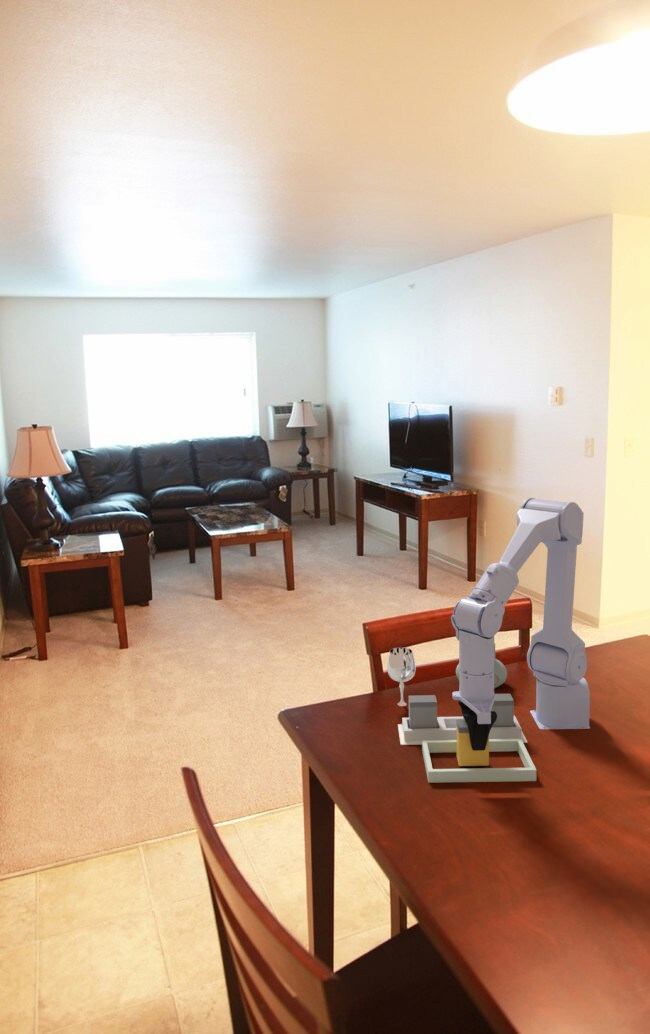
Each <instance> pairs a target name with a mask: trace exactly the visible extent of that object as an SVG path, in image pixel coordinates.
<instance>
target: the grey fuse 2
mask: <svg viewBox="0 0 650 1034" xmlns="http://www.w3.org/2000/svg"><path fill="white" fill-rule="evenodd" d="M514 703H515V700H514V698H513V697H512V695H511V693H495V701H494V704H493V706H492V709H491V711H496V714H497V719H496V721H495V722H494V724H493V726H492V727H513V726H514V716H515V714H514V713H515V712H514V711H515V710H514V709H515V708H514V706H515V704H514Z"/></svg>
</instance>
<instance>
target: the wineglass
mask: <svg viewBox="0 0 650 1034" xmlns="http://www.w3.org/2000/svg"><path fill="white" fill-rule="evenodd" d="M416 666H417V665H416V660H415V655H414V650H412V649H411V648H408V647H401V646H399V647H394V648H391V649H390V650H389V652H388V657H387V663H386V667H387V670H386V671H387V674H388V676H389V678H390V679H391V680H393V681H396V682H398V683H399V686H398V687H399V690H400V691H399V692H400V701H399V702H397V706H399V707H406V706H407V703H406V702H405V700H404V691H405V690H404V689H405V683H406V682H408V681H410V680H412V679H413V678H414V677H415V674H416V670H417V669H416Z"/></svg>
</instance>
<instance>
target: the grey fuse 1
mask: <svg viewBox="0 0 650 1034" xmlns="http://www.w3.org/2000/svg"><path fill="white" fill-rule="evenodd" d="M437 717H438V701H437V697H436V694H430V695H429V694H427V695H424V694H423V695H418V694H417V695H408V718H409V729H427V728H437Z"/></svg>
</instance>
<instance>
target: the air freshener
mask: <svg viewBox="0 0 650 1034" xmlns="http://www.w3.org/2000/svg"><path fill="white" fill-rule="evenodd" d="M455 675H456V678H457V680H459V663H458V664H457V666H456V668H455ZM507 678H508V671H507V667H506V666H505V665H504V663H503V662H502V661H501V660H499V659H497V658H496V642H494V689H496V688H499V687H500V686H502V685H503V684H504V683H505V681H506V680H507Z"/></svg>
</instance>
